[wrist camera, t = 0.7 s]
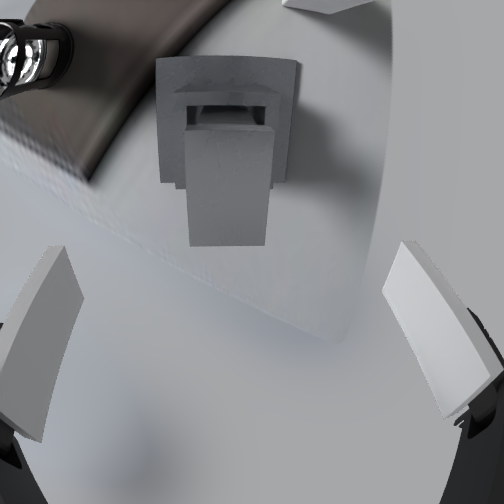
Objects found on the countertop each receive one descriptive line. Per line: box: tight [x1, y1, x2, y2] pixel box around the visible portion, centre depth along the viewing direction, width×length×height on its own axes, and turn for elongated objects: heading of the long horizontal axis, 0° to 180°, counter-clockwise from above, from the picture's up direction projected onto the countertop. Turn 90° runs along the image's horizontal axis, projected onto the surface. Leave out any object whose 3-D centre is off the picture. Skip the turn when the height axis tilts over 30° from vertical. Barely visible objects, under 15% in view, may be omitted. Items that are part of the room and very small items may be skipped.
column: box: [184, 105, 275, 246], centre depth 24 cm, size 7×4×20 cm, turn 177°
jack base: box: [156, 56, 297, 189], centre depth 28 cm, size 16×16×12 cm
